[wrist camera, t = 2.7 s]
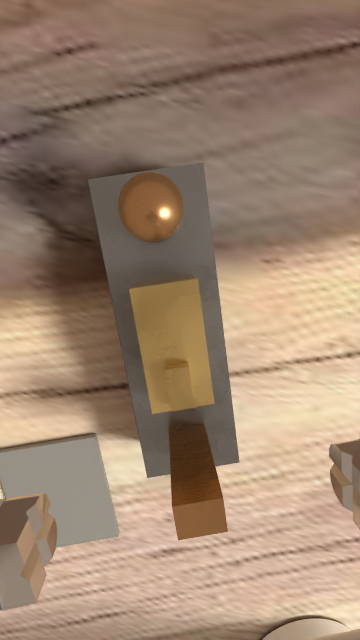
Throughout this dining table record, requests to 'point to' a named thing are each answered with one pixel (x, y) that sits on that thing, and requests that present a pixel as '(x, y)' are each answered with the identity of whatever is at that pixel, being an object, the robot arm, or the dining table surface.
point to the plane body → (198, 259)
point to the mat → (64, 485)
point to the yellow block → (172, 343)
